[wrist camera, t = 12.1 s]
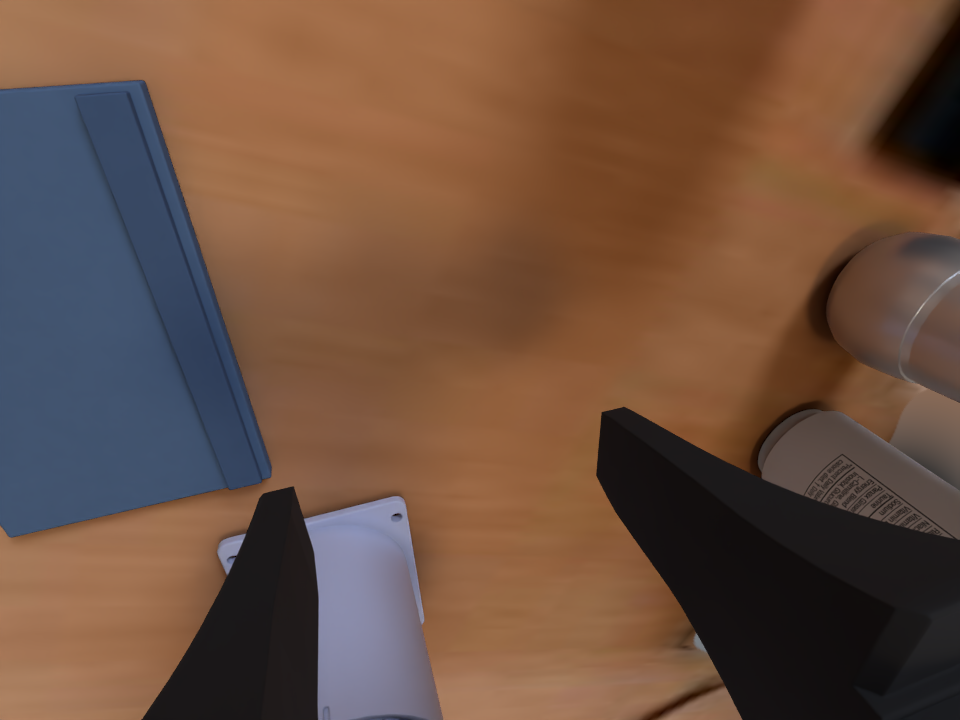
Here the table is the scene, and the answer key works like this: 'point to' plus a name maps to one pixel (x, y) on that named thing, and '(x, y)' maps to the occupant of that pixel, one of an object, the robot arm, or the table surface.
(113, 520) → the table surface
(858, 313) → the plastic bottle
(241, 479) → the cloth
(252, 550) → the robot arm
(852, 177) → the table surface
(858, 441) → the energy drink can
